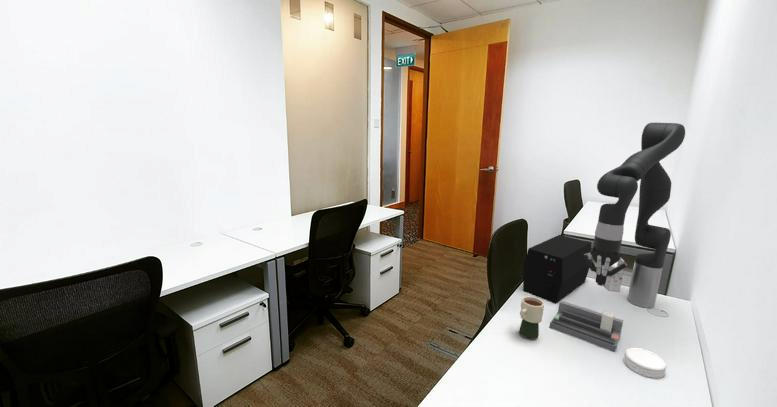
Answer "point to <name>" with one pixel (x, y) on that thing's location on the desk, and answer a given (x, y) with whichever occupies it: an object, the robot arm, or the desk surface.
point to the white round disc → (645, 362)
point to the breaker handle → (607, 321)
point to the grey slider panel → (586, 325)
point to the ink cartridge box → (614, 279)
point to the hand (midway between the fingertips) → (600, 284)
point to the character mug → (531, 316)
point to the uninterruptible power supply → (555, 268)
